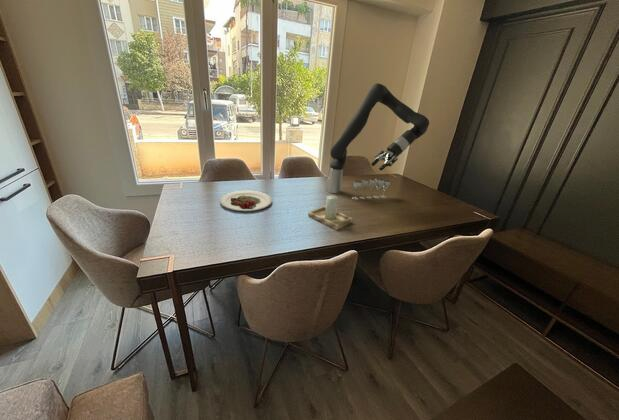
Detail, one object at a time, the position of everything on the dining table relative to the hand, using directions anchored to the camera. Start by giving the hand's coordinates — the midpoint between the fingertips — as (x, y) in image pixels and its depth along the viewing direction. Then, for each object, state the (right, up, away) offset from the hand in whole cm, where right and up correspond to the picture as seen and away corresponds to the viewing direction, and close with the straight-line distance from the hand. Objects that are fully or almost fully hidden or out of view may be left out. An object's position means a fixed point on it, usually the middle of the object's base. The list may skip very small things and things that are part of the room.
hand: (375, 167), depth 140 cm
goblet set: (+5, -15, +37) cm, 41 cm away
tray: (-25, -29, +1) cm, 38 cm away
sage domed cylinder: (-25, -28, +1) cm, 38 cm away
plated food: (-75, -19, +13) cm, 78 cm away
